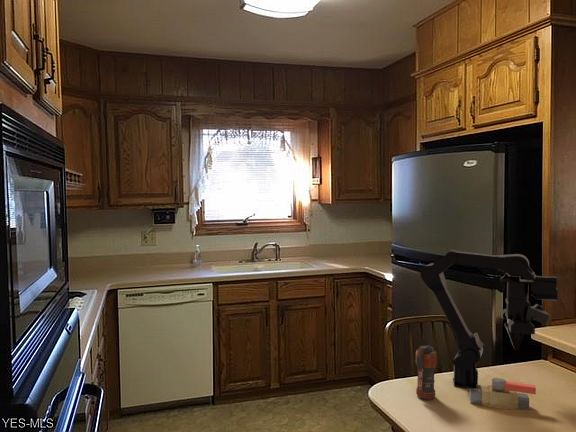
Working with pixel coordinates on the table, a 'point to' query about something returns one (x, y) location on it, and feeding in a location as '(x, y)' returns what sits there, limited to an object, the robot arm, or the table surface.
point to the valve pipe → (499, 398)
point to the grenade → (426, 372)
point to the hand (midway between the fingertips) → (516, 349)
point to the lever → (512, 386)
